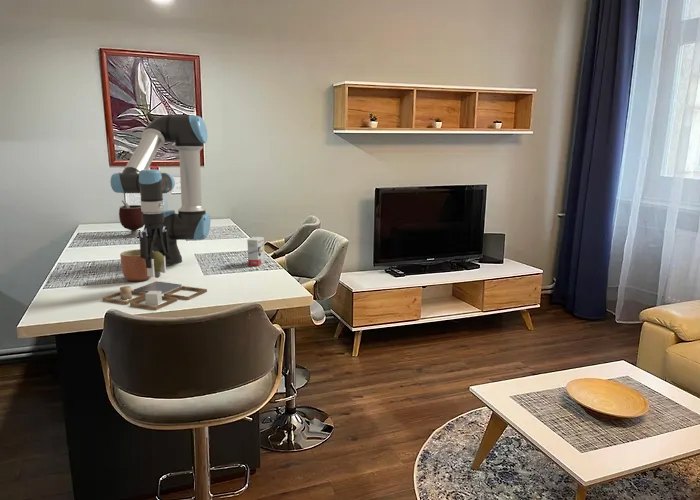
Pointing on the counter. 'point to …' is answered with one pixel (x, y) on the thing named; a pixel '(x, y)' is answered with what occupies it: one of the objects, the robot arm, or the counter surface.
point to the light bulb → (157, 263)
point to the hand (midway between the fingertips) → (156, 274)
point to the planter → (134, 265)
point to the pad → (158, 287)
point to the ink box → (256, 251)
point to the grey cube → (153, 297)
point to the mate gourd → (131, 218)
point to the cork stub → (125, 292)
